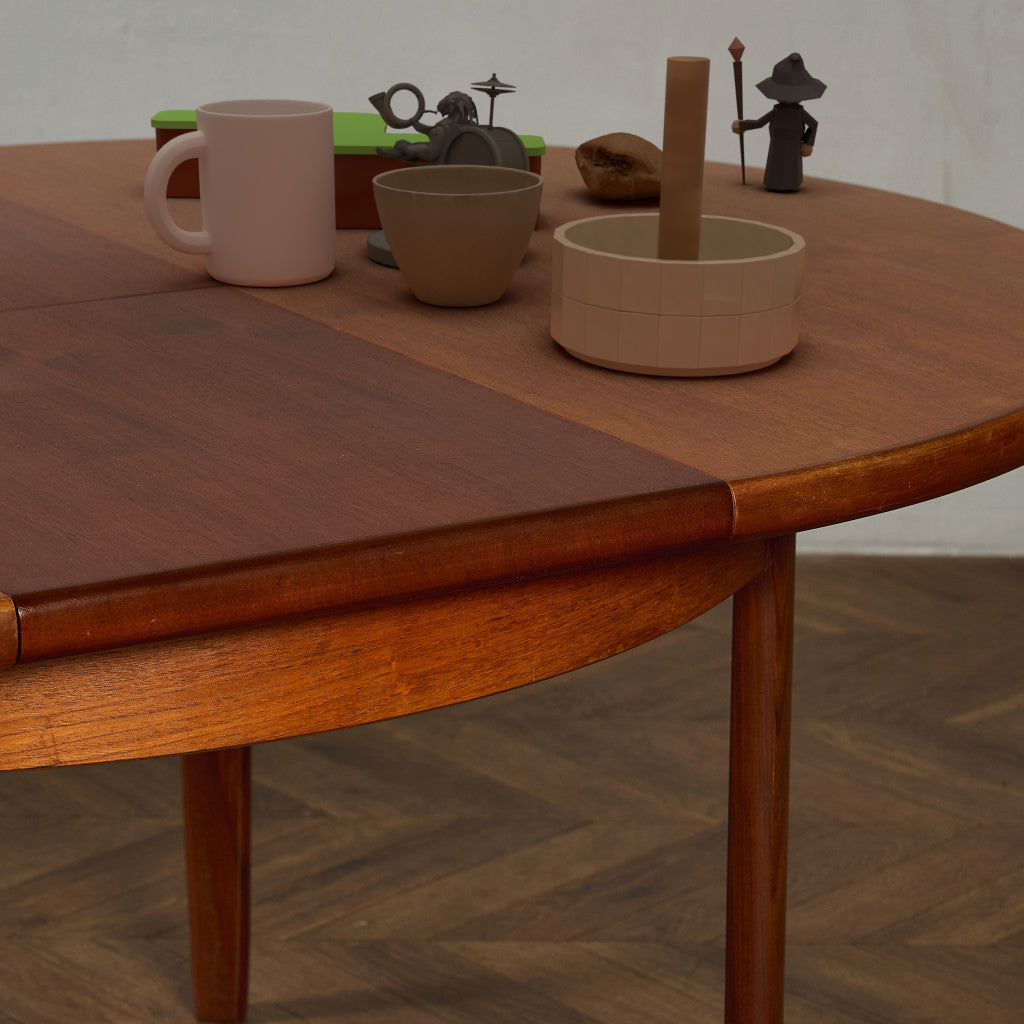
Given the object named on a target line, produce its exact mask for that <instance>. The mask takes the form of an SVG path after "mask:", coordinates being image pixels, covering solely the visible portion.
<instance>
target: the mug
mask: <svg viewBox="0 0 1024 1024" xmlns="http://www.w3.org/2000/svg"><path fill="white" fill-rule="evenodd" d="M195 110H196V119H197V131H195V132H190V133H186V134H183V135H180V136H178V137H176V138H174V139H172V140H170V141H169V142H168V143H166V144H165V145H164V146H163V147H162V148H161V149H160V150H159V151H158V152H157V151H156V153H155V155H154V157H153V158H152V159H151V161H150V164H149V166H148V168H147V172H146V174H145V177H144V185H143V203H144V210H145V213H146V218H147V219H148V220H147V221H148V222H149V225H150V227H151V229H152V230H153V232H154V233H155V235H156V236H157V238H158V239H159V240H160V241H161V242H162V243H163V244H164V245H166V246H167V247H169V248H170V249H172V250H173V251H175V252H178V253H180V254H185V255H191V256H203V259H204V260H203V261H204V265H205V266H204V267H205V270H206V272H207V273H208V274H209V275H210V276H211V278H214V280H216V281H218V282H222V283H225V284H230V285H235V286H244V287H254V288H255V287H257V288H259V287H260V288H275V287H292V286H300V285H305V284H306V285H307V284H311V283H314V282H318V281H322V280H324V279H326V278H327V277H329V276H330V275H331V273H332V272H333V271H334V269H335V266H336V261H337V259H336V258H337V232H336V231H337V230H336V229H337V228H336V225H335V182H334V138H333V112H334V109H333V106H331V105H330V104H327V103H323V102H318V101H313V100H312V101H311V100H303V99H285V98H247V99H246V98H245V99H243V98H242V99H228V100H218V101H212V102H207V103H202V104H200V105H197V106H196V107H195ZM191 158H199V179H200V197H199V198H200V214H201V231H188V230H184V229H182V228H180V227H178V225H176V223H175V221H173V219H172V217H171V215H170V213H169V208H168V204H167V203H168V202H167V197H166V190H167V184H168V181H169V178H170V176H171V174H172V172H173V170H174V169H175V168H176V167H177V166H178V165H179V164H180V163H182V162H183V161H185V160H188V159H191Z"/></svg>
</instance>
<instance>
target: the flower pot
mask: <svg viewBox="0 0 1024 1024" xmlns="http://www.w3.org/2000/svg"><path fill="white" fill-rule="evenodd" d="M544 181H545V180H544V178H543V177H542V175H541V176H540V175H538V174H535V173H532V172H528V171H524V170H518V169H513V168H505V167H496V166H481V165H436V166H422V167H411V168H403V169H397V170H393V171H388V172H385V173H382V174H379V175H377V176H376V177H374V178H373V181H372V182H373V189H374V195H375V201H376V205H377V209H378V214H379V218H380V221H381V225H382V228H381V229H382V230H383V231H384V234H385V237H386V240H387V242H388V245H389V247H390V250H391V252H392V254H393V256H394V259H395V261H396V263H397V265H398V267H397V268H398V269H399V271H400V273H401V275H402V276H403V278H404V280H405V281H406V283H407V284H408V286H409V288H410V290H411V291H412V292H413V294H414V296H415V297H416V298H417V299H418V300H419V301H420V302H423V303H425V304H428V305H432V306H433V305H434V306H439V307H449V308H451V307H452V308H468V307H469V308H470V307H479V306H485V305H489V304H492V303H495V302H497V301H499V300H500V299H501V298H502V296H503V295H504V292H506V290H507V288H508V286H509V285H510V283H511V281H512V280H513V278H514V277H515V275H516V273H517V271H518V269H519V268H520V265H521V263H522V261H523V260H524V259H523V257H524V254H525V255H526V252H527V249H528V248H529V247H528V246H529V245H530V243H531V239H532V236H533V233H534V230H535V229H534V227H535V224H536V220H537V216H538V212H539V208H540V209H541V202H542V198H543V191H544V183H545V182H544ZM522 259H523V260H522Z"/></svg>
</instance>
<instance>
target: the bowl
mask: <svg viewBox="0 0 1024 1024" xmlns="http://www.w3.org/2000/svg"><path fill="white" fill-rule="evenodd" d="M658 231H659V212H638V213H635V212H634V213H617V214H607V215H598V216H590V217H585V218H581V219H577V220H572V221H568V222H566V223H564V224H562V225H559V226H558V227H556V228H554V230H553V235H552V262H551V263H552V264H551V295H550V296H551V301H550V337H551V338H552V339H553V340H554V341H555V342H557V343H558V344H559V346H561V347H563V349H564V350H565V351H566V352H567V353H568V354H569V355H571V356H573V357H574V358H577V359H578V360H580V361H583V362H585V363H588V364H591V365H593V366H594V365H595V366H598V367H602V368H605V369H608V370H609V369H610V370H614V371H619V372H624V373H632V374H640V375H648V376H660V377H679V378H682V377H683V378H685V377H686V378H688V377H689V378H698V377H699V378H701V377H718V376H719V377H720V376H730V375H736V374H737V375H738V374H742V373H743V374H744V373H748V372H753V371H757V370H761V369H764V368H766V367H770V366H773V365H774V364H776V363H777V362H778V361H780V360H781V359H782V358H783V357H784V356H786V355H788V354H790V353H791V352H792V351H793V349H794V348H795V347H796V346H797V345H798V344H799V334H800V322H801V311H802V300H803V299H802V298H803V287H804V285H803V284H804V275H805V262H806V251H807V250H806V249H807V244H806V242H805V240H804V238H803V236H802V235H800V234H799V233H796V232H794V231H792V230H789V229H787V228H785V227H782V226H778V225H774V224H770V223H767V222H763V221H757V220H751V219H744V218H738V217H732V216H723V215H713V214H712V215H711V214H701V229H700V246H699V261H687V260H660V259H657V252H658Z"/></svg>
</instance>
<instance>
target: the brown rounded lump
mask: <svg viewBox="0 0 1024 1024" xmlns="http://www.w3.org/2000/svg"><path fill="white" fill-rule="evenodd" d="M574 152H575V153H574V159H575V164H576V167H577V169H578V171H579V173H580V176H581V178H582V181H583V183H584V184H585V185H586V187H587V188H588V189H589V190H590V191H591V192H592V193H593V194H594V195H595V196H597V197H600V198H601V199H605V200H610V201H611V200H612V201H632V200H639V199H645V198H652V197H658V196H659V197H660V191H661V170H662V150H661V149H660V148H659V147H658V146H657V145H655V144H654V143H652V142H651V141H649V140H647V139H645V138H643V137H641V136H639V135H636V134H633V133H630V132H624V131H622V132H621V131H619V132H610V133H607V134H603V135H601V136H600V135H599V136H597V137H595V138H592V139H589V140H587V141H585V142H582V143H580V144H579V146H578V147H577V148H576V149H575V151H574Z"/></svg>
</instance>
